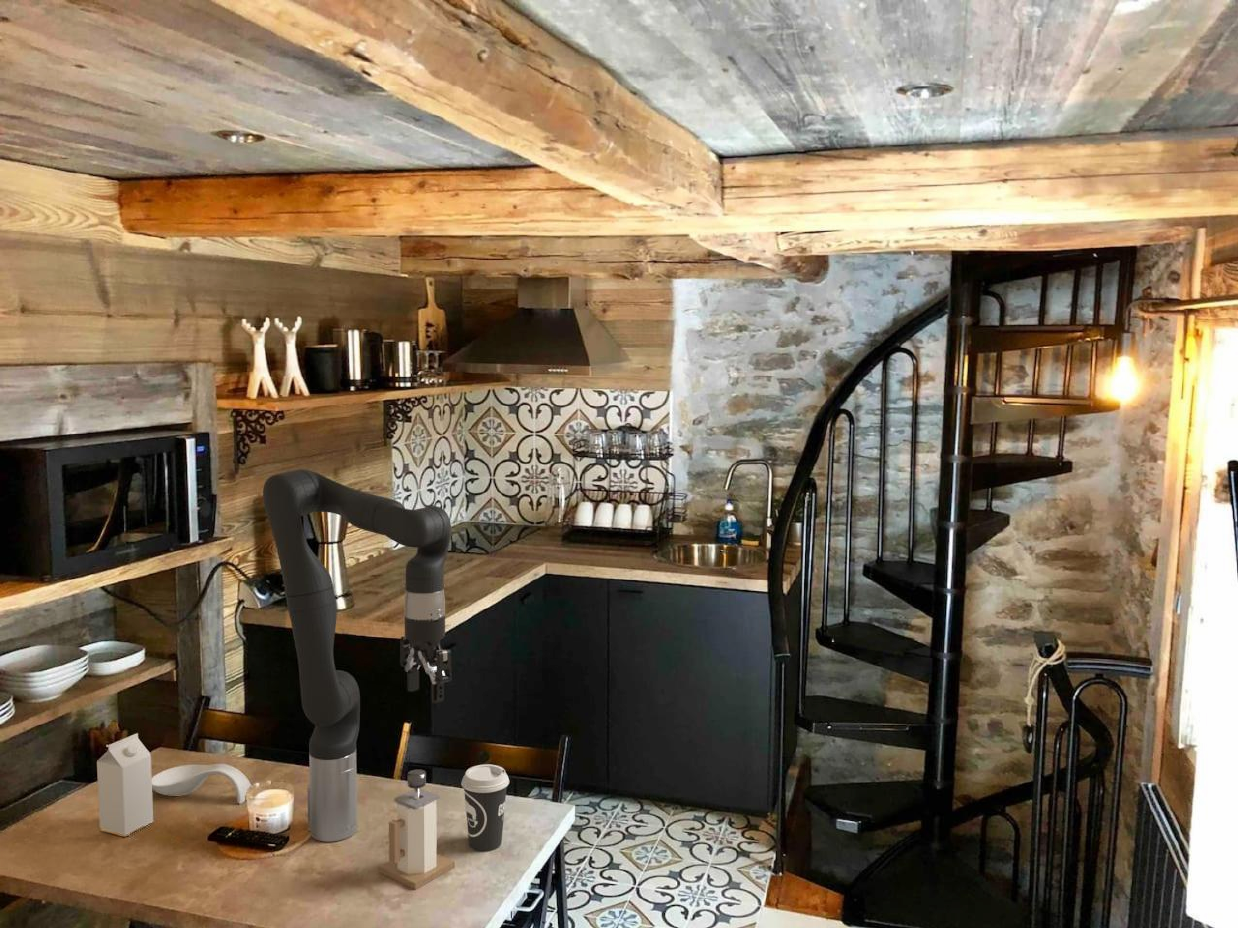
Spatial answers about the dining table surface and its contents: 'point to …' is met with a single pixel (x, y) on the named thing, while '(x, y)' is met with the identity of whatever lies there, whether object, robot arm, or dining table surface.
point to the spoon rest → (197, 779)
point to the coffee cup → (485, 805)
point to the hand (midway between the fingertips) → (425, 696)
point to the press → (415, 842)
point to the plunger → (416, 781)
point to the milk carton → (125, 786)
